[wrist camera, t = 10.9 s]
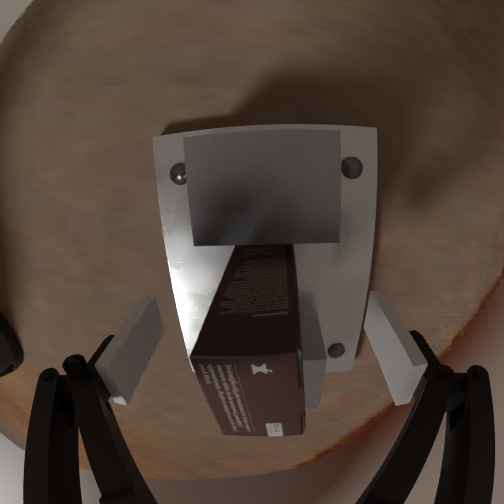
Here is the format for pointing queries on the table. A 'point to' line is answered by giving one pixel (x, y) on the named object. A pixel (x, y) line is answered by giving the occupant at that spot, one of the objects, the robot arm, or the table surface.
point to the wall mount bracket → (274, 224)
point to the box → (254, 345)
